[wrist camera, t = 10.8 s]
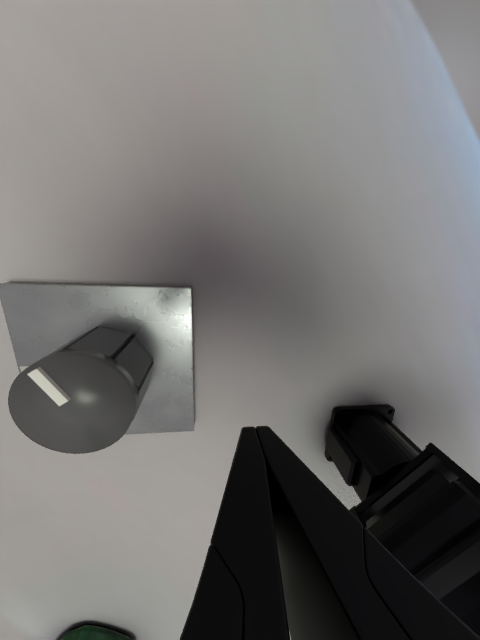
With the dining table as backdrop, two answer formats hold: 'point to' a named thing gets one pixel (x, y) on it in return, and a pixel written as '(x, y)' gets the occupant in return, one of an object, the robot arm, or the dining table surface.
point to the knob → (82, 392)
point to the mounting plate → (122, 315)
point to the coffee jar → (93, 634)
